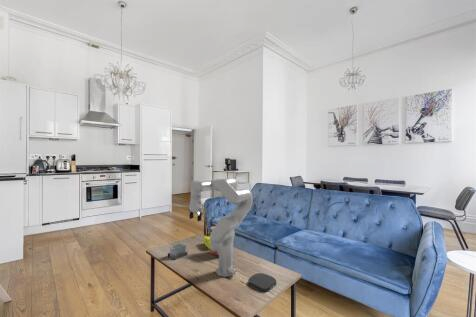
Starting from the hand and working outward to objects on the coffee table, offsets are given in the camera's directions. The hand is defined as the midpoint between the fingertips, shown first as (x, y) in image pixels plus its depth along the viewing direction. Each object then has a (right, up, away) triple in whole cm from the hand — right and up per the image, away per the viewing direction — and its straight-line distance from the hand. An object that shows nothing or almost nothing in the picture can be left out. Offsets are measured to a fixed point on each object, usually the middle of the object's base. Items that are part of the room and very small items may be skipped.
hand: (195, 219), depth 165 cm
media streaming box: (+47, -32, -31) cm, 65 cm away
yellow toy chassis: (+7, -31, +25) cm, 41 cm away
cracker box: (+17, -31, +10) cm, 36 cm away
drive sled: (-15, -30, +6) cm, 34 cm away
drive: (-15, -29, +6) cm, 33 cm away
